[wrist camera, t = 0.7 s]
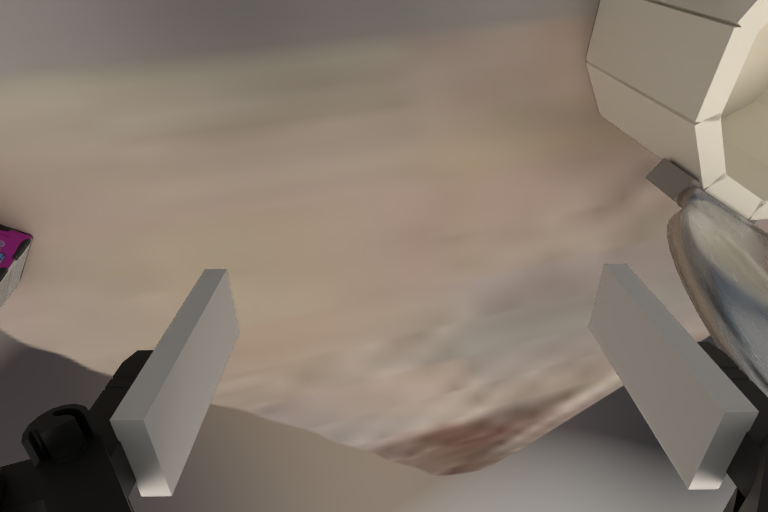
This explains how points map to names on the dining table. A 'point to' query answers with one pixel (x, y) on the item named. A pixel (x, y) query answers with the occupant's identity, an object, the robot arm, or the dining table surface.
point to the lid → (724, 277)
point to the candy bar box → (11, 260)
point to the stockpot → (689, 92)
